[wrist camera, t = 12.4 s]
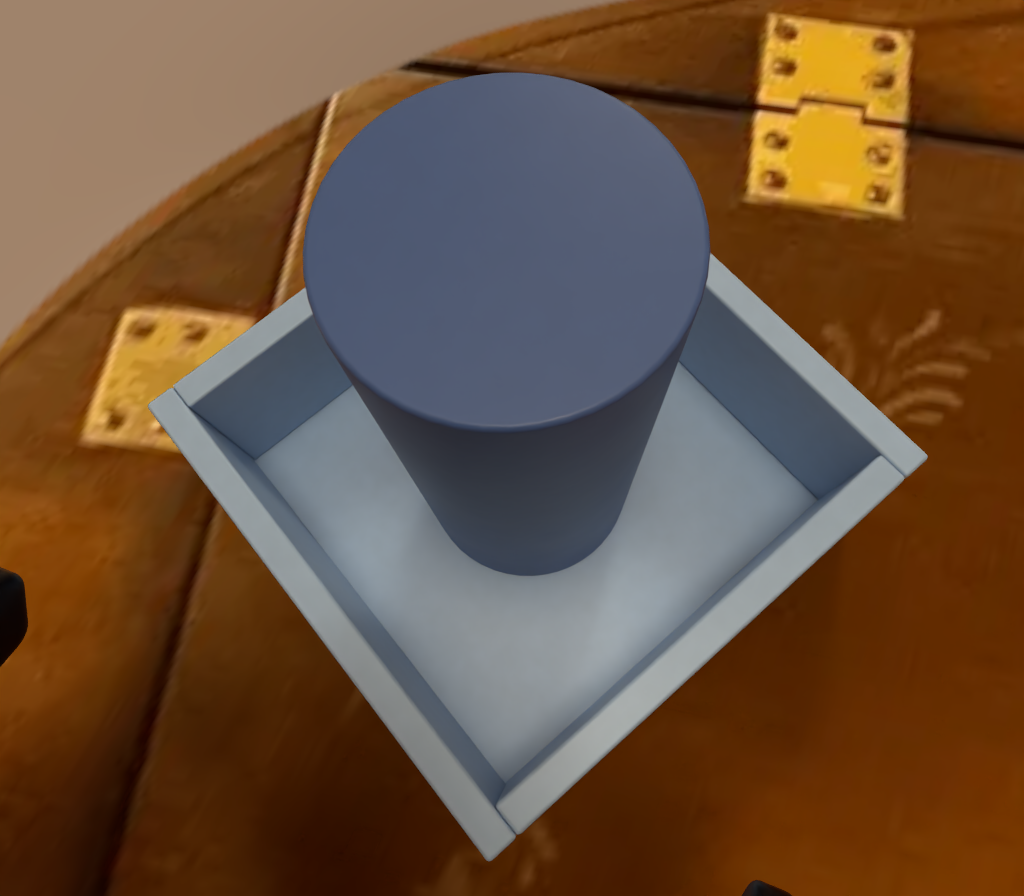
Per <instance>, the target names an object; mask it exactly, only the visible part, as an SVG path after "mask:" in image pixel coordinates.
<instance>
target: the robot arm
mask: <svg viewBox="0 0 1024 896" xmlns="http://www.w3.org/2000/svg"><path fill="white" fill-rule="evenodd" d="M27 627H28V618H27V608H26V598H25V588H24V582H23V580H22V578H21V577H20V576H19V575H18V574H16V573H13V572H11V571H8V570H6V569H4V568H1V567H0V667H1V665H2V664H3V663H4V662H5V661H6V660H7V659H8V657H9V656H10V655H11V654H12V653H13V652H14V650H15V649H16V648H17V647H18V646H19V644H20V643H21V642H22V640H23V638H24V636H25V634H26V632H27ZM742 896H791V894H789V893H788V892H786V891H784V890H782V889H779V888H777V887H774V886H772V885H769V884H767V883H765V882H762V881H759V880H755V881H752V882H751V883H750V884H749V885H748V886H747V888H746V889H745V891H744V893H743V894H742Z"/></svg>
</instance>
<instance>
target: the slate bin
mask: <svg viewBox="0 0 1024 896" xmlns="http://www.w3.org/2000/svg"><path fill="white" fill-rule="evenodd" d="M148 408H149V410H150V411H151V413H152V414H153V415H154V417H155V418H156V419H157V421H158V422H159V423H160V425H161V426H162V427H163V429H164V430H165V431H166V433H167V434H168V435H169V437H170V438H171V439H172V441H173V442H174V443H175V445H176V446H177V447H178V449H179V450H180V451H181V453H182V454H183V455H184V457H185V458H186V459H187V461H188V462H189V463H190V465H191V466H192V467H193V469H194V470H195V471H196V473H197V474H198V475H199V477H200V478H201V479H202V481H203V482H204V483H205V485H206V486H207V487H208V489H209V490H210V491H211V493H212V494H213V495H214V497H215V498H216V499H217V501H218V502H219V503H220V505H221V506H222V508H223V509H224V510H225V512H226V513H227V514H228V516H229V517H230V518H231V520H232V521H233V522H234V524H235V525H236V526H237V528H238V529H239V530H240V532H241V533H242V534H243V536H244V537H245V538H246V540H247V541H248V542H249V544H250V545H251V546H252V548H253V549H254V550H255V552H256V553H257V554H258V556H259V557H260V558H261V560H262V561H263V562H264V564H265V565H266V566H267V568H268V569H269V570H270V572H271V573H272V574H273V576H274V577H275V578H276V580H277V581H278V582H279V584H280V585H281V586H282V588H283V589H284V590H285V592H286V593H287V594H288V596H289V597H290V598H291V600H292V601H293V602H294V604H295V605H296V606H297V608H298V609H299V611H300V612H301V613H302V615H303V616H304V617H305V619H306V620H307V621H308V623H309V624H310V625H311V627H312V628H313V629H314V631H315V632H316V633H317V635H318V636H319V637H320V639H321V640H322V641H323V643H324V644H325V645H326V647H327V648H328V649H329V651H330V652H331V653H332V655H333V656H334V657H335V659H336V660H337V661H338V663H339V664H340V665H341V667H342V668H343V669H344V671H345V672H346V673H347V675H348V676H349V677H350V679H351V680H352V681H353V683H354V684H355V685H356V687H357V688H358V689H359V691H360V692H361V693H362V695H363V696H364V697H365V699H366V700H367V701H368V703H369V704H370V705H371V707H372V708H373V709H374V711H375V712H376V714H377V715H378V716H379V718H380V719H381V720H382V722H383V723H384V724H385V726H386V727H387V728H388V730H389V731H390V732H391V734H392V735H393V736H394V738H395V739H396V740H397V742H398V743H399V744H400V746H401V747H402V748H403V750H404V751H405V752H406V754H407V755H408V756H409V758H410V759H411V760H412V762H413V763H414V764H415V766H416V767H417V768H418V770H419V771H420V772H421V774H422V775H423V776H424V778H425V779H426V780H427V782H428V783H429V784H430V786H431V787H432V788H433V790H434V791H435V792H436V794H437V795H438V796H439V798H440V799H441V800H442V802H443V803H444V804H445V806H446V807H447V808H448V810H449V811H450V812H451V814H452V815H453V817H454V818H455V819H456V821H457V822H458V823H459V825H460V826H461V827H462V829H463V830H464V831H465V833H466V834H467V835H468V837H469V838H470V839H471V841H472V842H473V843H474V845H475V846H476V847H477V849H478V850H479V851H480V853H481V854H482V855H483V857H484V858H485V859H486V860H487V861H492V860H493V859H494V858H495V857H496V856H498V855H499V854H500V853H501V852H502V851H503V850H504V849H505V848H506V847H507V846H508V845H509V844H511V843H512V842H513V841H514V839H515V837H516V834H517V835H519V834H521V833H522V832H524V831H525V830H526V829H527V828H528V827H529V826H530V825H531V824H532V823H533V822H534V821H535V820H537V819H538V818H539V817H540V816H541V815H542V814H543V813H544V812H545V811H546V810H547V809H548V808H550V807H551V806H552V805H553V804H554V803H555V802H556V801H557V800H558V799H559V798H560V797H561V796H563V795H564V794H565V793H566V792H567V791H568V790H569V789H570V788H571V787H572V786H573V785H574V784H576V783H577V782H578V781H579V780H580V779H581V778H582V777H583V776H584V775H585V774H586V773H588V772H589V771H590V770H591V769H592V768H593V767H594V766H595V765H596V764H597V763H598V762H599V761H601V760H602V759H603V758H604V757H605V756H606V755H607V754H608V753H609V752H610V751H611V750H612V749H614V748H615V747H616V746H617V745H618V744H619V743H620V742H621V741H622V740H623V739H624V738H625V737H627V736H628V735H629V734H630V733H631V732H632V731H633V730H634V729H635V728H636V727H637V726H638V725H640V724H641V723H642V722H643V721H644V720H645V719H646V718H647V717H648V716H649V715H650V714H651V713H653V712H654V711H655V710H656V709H657V708H658V707H659V706H660V705H661V704H662V703H663V702H664V701H666V700H667V699H668V698H669V697H670V696H671V695H672V694H673V693H674V692H675V691H676V690H677V689H679V688H680V687H681V686H682V685H683V684H684V683H685V682H686V681H687V680H688V679H689V678H690V677H692V676H693V675H694V674H695V673H696V672H697V671H698V670H699V669H700V668H701V667H702V666H703V665H705V664H706V663H707V662H708V661H709V660H710V659H711V658H712V657H713V656H714V655H715V654H716V653H718V652H719V651H720V650H721V649H722V648H723V647H724V646H725V645H726V644H727V643H728V642H729V641H731V640H732V639H733V638H734V637H735V636H736V635H737V634H738V633H739V632H740V631H741V630H742V629H744V628H745V627H746V626H747V625H748V624H749V623H750V622H751V621H752V620H753V619H754V618H756V617H757V616H758V615H759V614H760V613H761V612H762V611H763V610H764V609H765V608H766V607H767V606H769V605H770V604H771V603H772V602H773V601H774V600H775V599H776V598H777V597H778V596H779V595H780V594H782V593H783V592H784V591H785V590H786V589H787V588H788V587H789V586H790V585H791V584H792V583H793V582H795V581H796V580H797V579H798V578H799V577H800V576H801V575H802V574H803V573H804V572H805V571H806V570H808V569H809V568H810V567H811V566H812V565H813V564H814V563H815V562H816V561H817V560H818V559H819V558H821V557H822V556H823V555H824V554H825V553H826V552H827V551H828V550H829V549H830V548H831V547H832V546H834V545H835V544H836V543H837V542H838V541H839V540H840V539H841V538H842V537H843V536H844V535H845V534H847V533H848V532H849V531H850V530H851V529H852V528H853V527H854V526H855V525H856V524H857V523H858V522H860V521H861V520H862V519H863V518H864V517H865V516H866V515H867V514H868V513H869V512H870V511H871V510H873V509H874V508H875V507H876V506H877V505H878V504H879V503H880V502H881V501H882V500H883V499H884V498H886V497H887V496H888V495H889V494H890V493H891V492H892V491H893V490H894V489H895V488H896V487H897V486H899V485H900V484H901V483H902V482H903V480H904V479H905V478H906V477H908V476H909V475H911V474H912V473H913V472H914V471H915V470H916V469H917V468H918V467H919V466H920V465H921V464H922V463H924V462H925V461H926V459H927V457H928V456H927V455H926V453H924V452H923V451H922V450H921V449H920V448H919V447H918V446H917V445H916V444H915V443H914V442H913V441H912V440H911V439H909V438H908V437H907V436H906V435H905V434H904V433H903V432H902V431H901V430H900V429H899V428H898V427H897V426H896V425H894V424H893V423H892V422H891V421H890V420H889V419H888V418H887V417H886V416H885V415H884V414H883V413H882V412H880V411H879V410H878V409H877V408H876V407H875V406H874V405H873V404H872V403H871V402H870V401H869V400H868V399H867V398H865V397H864V396H863V395H862V394H861V393H860V392H859V391H858V390H857V389H856V388H855V387H854V386H853V385H852V384H850V383H849V382H848V381H847V380H846V379H845V378H844V377H843V376H842V375H841V374H840V373H839V372H838V371H837V370H835V369H834V368H833V367H832V366H831V365H830V364H829V363H828V362H827V361H826V360H825V359H824V358H823V357H821V356H820V355H819V354H818V353H817V352H816V351H815V350H814V349H813V348H812V347H811V346H810V345H809V344H808V343H806V342H805V341H804V340H803V339H802V338H801V337H800V336H799V335H798V334H797V333H796V332H795V331H794V330H793V329H791V328H790V327H789V326H788V325H787V324H786V323H785V322H784V321H783V320H782V319H781V318H780V317H779V316H778V315H776V314H775V313H774V312H773V311H772V310H771V309H770V308H769V307H768V306H767V305H766V304H765V303H764V302H762V301H761V300H760V299H759V298H758V297H757V296H756V295H755V294H754V293H753V292H752V291H751V290H750V289H749V288H747V287H746V286H745V285H744V284H743V283H742V282H741V281H740V280H739V279H738V278H737V277H736V276H735V275H734V274H732V273H731V272H730V271H729V270H728V269H727V268H726V267H725V266H724V265H723V264H722V263H721V262H720V261H719V260H717V259H716V258H715V257H714V256H713V255H712V254H711V253H710V260H709V270H708V278H707V282H706V286H705V290H704V294H703V298H702V301H701V304H700V307H699V309H698V312H697V314H696V317H695V320H694V322H693V325H692V328H691V330H690V333H689V335H688V338H687V341H686V343H685V346H684V348H683V351H682V354H681V356H680V359H679V362H678V364H677V367H676V369H675V372H674V375H673V377H672V380H671V382H670V385H669V388H668V390H667V393H666V395H665V398H664V401H663V403H662V406H661V409H660V411H659V414H658V416H657V419H656V422H655V424H654V427H653V429H652V432H651V435H650V437H649V440H648V443H647V445H646V448H645V450H644V453H643V456H642V458H641V461H640V463H639V466H638V469H637V471H636V474H635V477H634V479H633V482H632V484H631V487H630V490H629V492H628V495H627V497H626V500H625V503H624V505H623V508H622V510H621V513H620V515H619V518H618V520H617V522H616V524H615V526H614V527H613V529H612V531H611V533H610V534H609V535H608V537H607V538H606V539H605V540H604V542H603V543H602V544H601V545H600V546H599V547H598V548H597V549H596V550H595V551H594V552H593V553H591V554H590V555H589V556H587V557H586V558H585V559H583V560H582V561H580V562H578V563H576V564H574V565H573V566H571V567H568V568H566V569H563V570H560V571H558V572H553V573H549V574H545V575H536V576H519V575H512V574H506V573H502V572H499V571H496V570H493V569H490V568H488V567H486V566H484V565H481V564H480V563H478V562H477V561H475V560H473V559H472V558H470V557H469V556H468V555H466V554H465V553H464V552H463V551H462V550H460V549H459V548H458V546H457V545H456V544H455V543H454V542H453V541H452V540H451V539H450V537H449V536H448V534H447V533H446V532H445V530H444V529H443V527H442V525H441V524H440V522H439V521H438V519H437V518H436V516H435V514H434V513H433V511H432V510H431V508H430V506H429V505H428V503H427V502H426V500H425V499H424V497H423V495H422V494H421V492H420V491H419V489H418V487H417V486H416V484H415V483H414V481H413V480H412V478H411V476H410V475H409V473H408V472H407V470H406V468H405V467H404V465H403V464H402V462H401V461H400V459H399V457H398V456H397V454H396V453H395V451H394V449H393V448H392V446H391V445H390V443H389V442H388V440H387V438H386V437H385V435H384V434H383V432H382V430H381V429H380V427H379V426H378V424H377V423H376V421H375V419H374V418H373V416H372V415H371V413H370V411H369V410H368V408H367V407H366V405H365V404H364V402H363V400H362V399H361V397H360V396H359V394H358V392H357V391H356V389H355V388H354V386H353V385H352V383H351V381H350V380H349V378H348V377H347V375H346V373H345V372H344V370H343V369H342V367H341V366H340V364H339V362H338V361H337V359H336V358H335V356H334V354H333V353H332V351H331V350H330V348H329V347H328V345H327V343H326V341H325V340H324V338H323V336H322V334H321V332H320V330H319V328H318V326H317V324H316V322H315V319H314V316H313V313H312V310H311V307H310V304H309V301H308V298H307V292H306V287H305V288H304V289H303V290H301V291H300V292H299V293H297V294H296V295H294V296H293V297H292V298H290V299H289V300H288V301H286V302H285V303H284V304H282V305H281V306H280V307H278V308H277V309H276V310H274V311H273V312H272V313H270V314H269V315H267V316H266V317H265V318H263V319H262V320H261V321H259V322H258V323H257V324H255V325H254V326H253V327H251V328H250V329H249V330H247V331H246V332H244V333H243V334H242V335H240V336H239V337H238V338H236V339H235V340H234V341H232V342H231V343H230V344H228V345H227V346H226V347H224V348H223V349H222V350H220V351H219V352H217V353H216V354H215V355H213V356H212V357H211V358H209V359H208V360H207V361H205V362H204V363H203V364H201V365H200V366H199V367H197V368H196V369H195V370H193V371H192V372H190V373H189V374H188V375H186V376H185V377H184V378H182V379H181V380H180V381H178V382H177V383H176V384H174V389H173V388H170V389H168V390H167V391H165V392H164V393H163V394H161V395H160V396H159V397H157V398H156V399H155V400H153V401H152V402H150V403H149V404H148Z"/></svg>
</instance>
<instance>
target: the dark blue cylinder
mask: <svg viewBox="0 0 1024 896" xmlns="http://www.w3.org/2000/svg"><path fill="white" fill-rule="evenodd" d="M709 260H710V238H709V226H708V222H707V217H706V212H705V207H704V204H703V201H702V198H701V195H700V193H699V190H698V187H697V184H696V182H695V180H694V178H693V176H692V175H691V173H690V171H689V169H688V167H687V165H686V163H685V161H684V160H683V159H682V157H681V156H680V154H679V153H678V152H677V150H676V149H675V148H674V146H673V145H672V144H671V142H670V141H669V140H668V139H667V138H666V137H665V136H664V135H663V134H662V133H661V132H660V131H659V130H658V129H657V128H656V127H655V126H654V125H653V124H652V123H651V122H650V121H648V120H647V119H646V118H645V117H643V116H642V115H641V114H640V113H638V112H637V111H636V110H634V109H633V108H631V107H629V106H628V105H626V104H625V103H623V102H621V101H620V100H618V99H616V98H615V97H612V96H610V95H608V94H606V93H604V92H602V91H600V90H597V89H595V88H593V87H590V86H587V85H584V84H581V83H578V82H575V81H572V80H567V79H563V78H558V77H553V76H548V75H540V74H530V73H494V74H485V75H477V76H471V77H466V78H462V79H457V80H453V81H449V82H446V83H443V84H440V85H437V86H434V87H431V88H428V89H426V90H424V91H421V92H419V93H417V94H415V95H413V96H411V97H409V98H407V99H404V100H403V101H401V102H399V103H398V104H396V105H395V106H393V107H391V108H390V109H388V110H386V111H385V112H383V113H382V114H381V115H379V116H378V117H377V118H376V119H374V120H373V121H372V122H371V123H369V124H368V125H367V126H365V127H364V128H363V129H362V130H361V131H360V132H359V133H358V134H357V135H356V136H355V137H354V138H353V139H352V140H351V141H350V142H349V143H348V144H347V146H346V147H345V148H344V149H343V151H342V152H341V153H340V155H339V156H338V157H337V158H336V160H335V161H334V162H333V164H332V165H331V167H330V169H329V171H328V172H327V174H326V176H325V177H324V179H323V181H322V182H321V185H320V187H319V189H318V192H317V194H316V196H315V199H314V201H313V204H312V207H311V211H310V214H309V218H308V222H307V226H306V230H305V239H304V247H303V274H304V281H305V287H306V292H307V298H308V301H309V304H310V307H311V310H312V313H313V316H314V319H315V322H316V324H317V326H318V328H319V330H320V332H321V334H322V336H323V338H324V340H325V341H326V343H327V345H328V347H329V348H330V350H331V351H332V353H333V354H334V356H335V358H336V359H337V361H338V362H339V364H340V366H341V367H342V369H343V370H344V372H345V373H346V375H347V377H348V378H349V380H350V381H351V383H352V385H353V386H354V388H355V389H356V391H357V392H358V394H359V396H360V397H361V399H362V400H363V402H364V404H365V405H366V407H367V408H368V410H369V411H370V413H371V415H372V416H373V418H374V419H375V421H376V423H377V424H378V426H379V427H380V429H381V430H382V432H383V434H384V435H385V437H386V438H387V440H388V442H389V443H390V445H391V446H392V448H393V449H394V451H395V453H396V454H397V456H398V457H399V459H400V461H401V462H402V464H403V465H404V467H405V468H406V470H407V472H408V473H409V475H410V476H411V478H412V480H413V481H414V483H415V484H416V486H417V487H418V489H419V491H420V492H421V494H422V495H423V497H424V499H425V500H426V502H427V503H428V505H429V506H430V508H431V510H432V511H433V513H434V514H435V516H436V518H437V519H438V521H439V522H440V524H441V525H442V527H443V529H444V530H445V532H446V533H447V534H448V536H449V537H450V539H451V540H452V541H453V542H454V543H455V544H456V545H457V546H458V548H459V549H460V550H462V551H463V552H464V553H465V554H466V555H468V556H469V557H470V558H472V559H473V560H475V561H477V562H478V563H480V564H481V565H484V566H486V567H488V568H490V569H493V570H496V571H499V572H502V573H506V574H512V575H519V576H536V575H545V574H549V573H553V572H558V571H560V570H563V569H566V568H568V567H571V566H573V565H574V564H576V563H578V562H580V561H582V560H583V559H585V558H586V557H587V556H589V555H590V554H591V553H593V552H594V551H595V550H596V549H597V548H598V547H599V546H600V545H601V544H602V543H603V542H604V540H605V539H606V538H607V537H608V535H609V534H610V533H611V531H612V529H613V527H614V526H615V524H616V522H617V520H618V518H619V515H620V513H621V510H622V508H623V505H624V503H625V500H626V497H627V495H628V492H629V490H630V487H631V484H632V482H633V479H634V477H635V474H636V471H637V469H638V466H639V463H640V461H641V458H642V456H643V453H644V450H645V448H646V445H647V443H648V440H649V437H650V435H651V432H652V429H653V427H654V424H655V422H656V419H657V416H658V414H659V411H660V409H661V406H662V403H663V401H664V398H665V395H666V393H667V390H668V388H669V385H670V382H671V380H672V377H673V375H674V372H675V369H676V367H677V364H678V362H679V359H680V356H681V354H682V351H683V348H684V346H685V343H686V341H687V338H688V335H689V333H690V330H691V328H692V325H693V322H694V320H695V317H696V314H697V312H698V309H699V307H700V304H701V301H702V298H703V294H704V290H705V286H706V282H707V278H708V270H709Z"/></svg>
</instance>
